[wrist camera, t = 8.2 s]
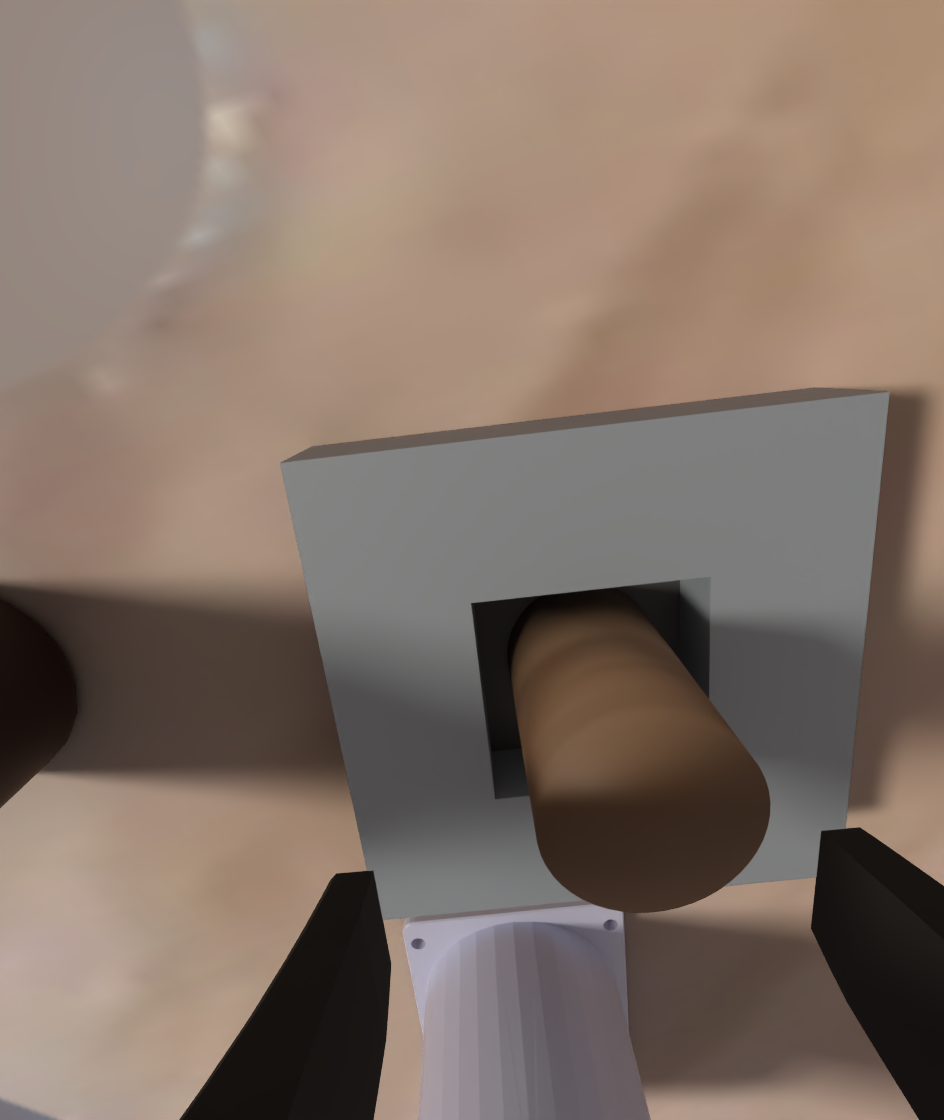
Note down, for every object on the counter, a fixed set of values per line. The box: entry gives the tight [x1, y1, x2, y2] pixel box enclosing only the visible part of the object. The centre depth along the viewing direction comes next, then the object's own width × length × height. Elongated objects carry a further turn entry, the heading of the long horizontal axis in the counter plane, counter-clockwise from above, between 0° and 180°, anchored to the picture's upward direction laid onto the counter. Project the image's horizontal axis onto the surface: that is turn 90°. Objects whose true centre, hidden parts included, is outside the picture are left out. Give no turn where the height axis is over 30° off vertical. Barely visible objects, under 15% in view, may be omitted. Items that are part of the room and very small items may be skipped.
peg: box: [507, 588, 771, 913], centre depth 14 cm, size 4×4×7 cm
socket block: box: [280, 388, 890, 920], centre depth 17 cm, size 14×14×3 cm
